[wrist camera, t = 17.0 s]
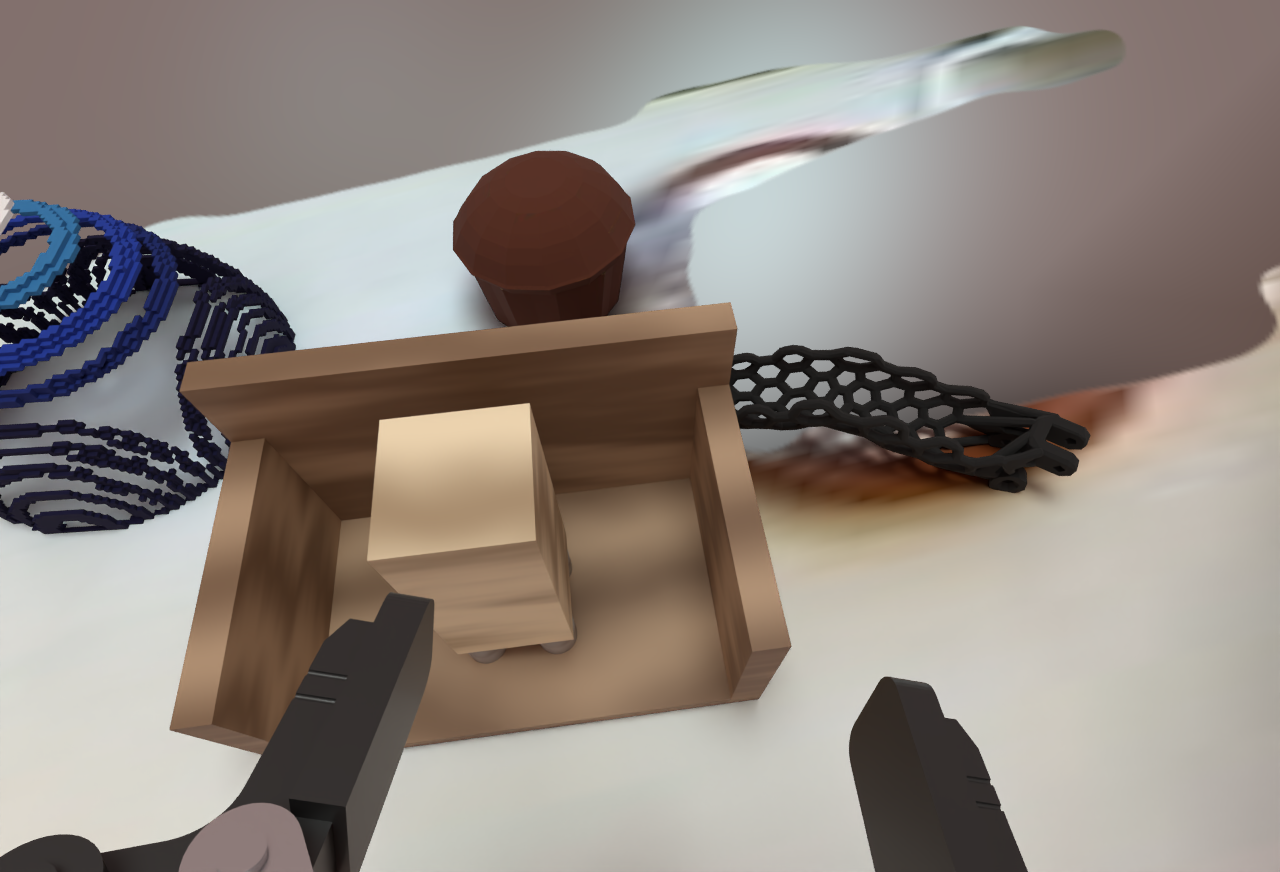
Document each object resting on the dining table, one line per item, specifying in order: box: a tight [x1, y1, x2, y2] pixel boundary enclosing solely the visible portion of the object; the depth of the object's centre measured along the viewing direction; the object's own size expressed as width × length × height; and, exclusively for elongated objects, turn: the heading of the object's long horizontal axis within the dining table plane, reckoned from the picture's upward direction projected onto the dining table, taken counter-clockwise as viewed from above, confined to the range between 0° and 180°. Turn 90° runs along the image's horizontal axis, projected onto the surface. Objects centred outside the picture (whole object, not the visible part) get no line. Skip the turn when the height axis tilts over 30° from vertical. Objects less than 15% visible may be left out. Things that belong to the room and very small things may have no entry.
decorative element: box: [729, 345, 1090, 493], centre depth 40 cm, size 22×5×6 cm, turn 77°
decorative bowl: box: [0, 192, 296, 534], centre depth 40 cm, size 20×20×14 cm
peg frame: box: [170, 302, 791, 755], centre depth 32 cm, size 14×23×14 cm, turn 97°
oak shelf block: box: [367, 403, 574, 654], centre depth 29 cm, size 6×6×12 cm
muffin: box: [453, 151, 635, 327], centre depth 45 cm, size 12×11×10 cm
